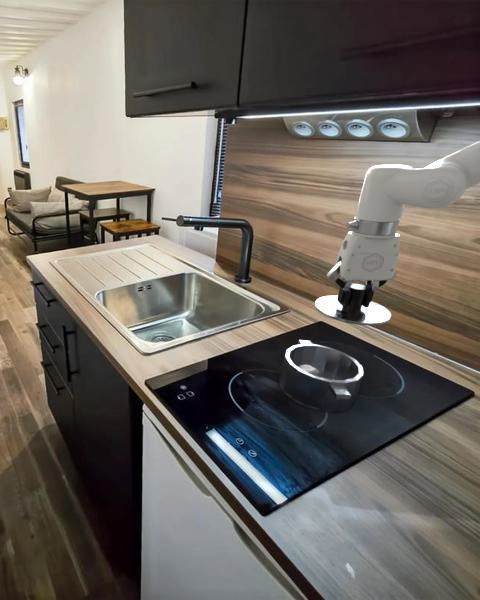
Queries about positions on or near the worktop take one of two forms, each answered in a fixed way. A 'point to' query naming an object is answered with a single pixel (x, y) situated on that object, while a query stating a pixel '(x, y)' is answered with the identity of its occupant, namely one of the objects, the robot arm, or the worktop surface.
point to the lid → (353, 308)
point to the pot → (321, 377)
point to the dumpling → (309, 369)
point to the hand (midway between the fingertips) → (352, 304)
